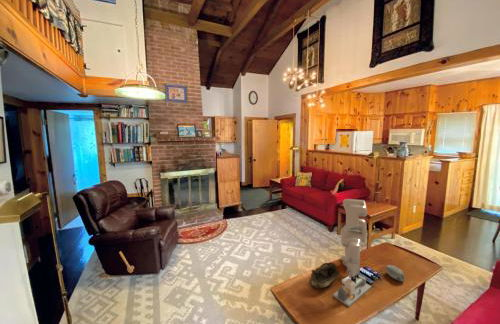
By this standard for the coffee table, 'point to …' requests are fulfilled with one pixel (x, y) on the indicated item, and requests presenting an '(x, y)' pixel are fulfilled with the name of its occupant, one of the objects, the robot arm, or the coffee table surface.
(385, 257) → the coffee table surface
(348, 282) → the sleeve
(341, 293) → the grey support base
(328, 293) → the coffee table surface
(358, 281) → the pale green crossbeam
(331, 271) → the hollow geode rock
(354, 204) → the robot arm
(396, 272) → the streaked grey egg
